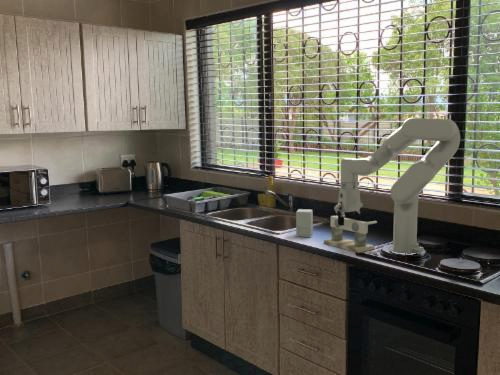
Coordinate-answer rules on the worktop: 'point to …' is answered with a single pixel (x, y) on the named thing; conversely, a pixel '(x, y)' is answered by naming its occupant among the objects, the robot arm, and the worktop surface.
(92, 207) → the worktop surface
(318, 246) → the worktop surface
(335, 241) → the display stand
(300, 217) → the supplement box
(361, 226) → the glasses
